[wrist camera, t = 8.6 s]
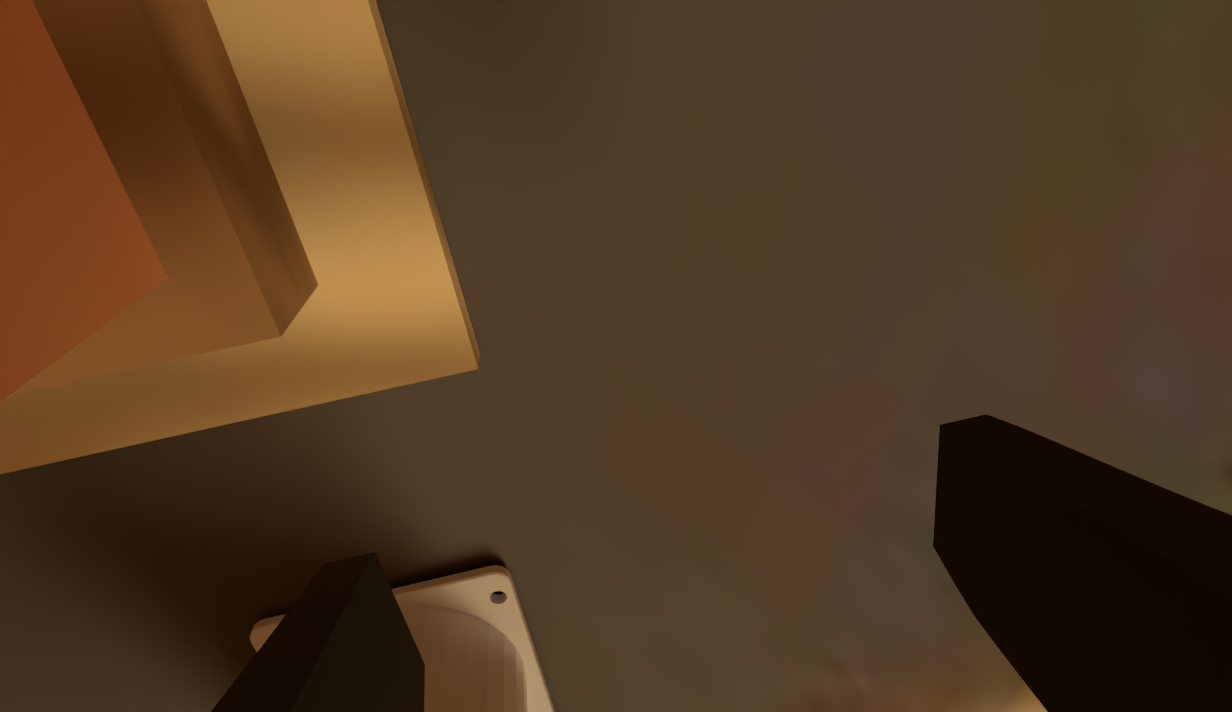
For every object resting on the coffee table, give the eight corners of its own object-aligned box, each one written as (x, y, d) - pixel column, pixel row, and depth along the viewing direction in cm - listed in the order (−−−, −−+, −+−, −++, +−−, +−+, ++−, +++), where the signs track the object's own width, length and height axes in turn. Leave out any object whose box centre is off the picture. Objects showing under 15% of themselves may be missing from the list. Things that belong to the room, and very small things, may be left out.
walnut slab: (318, 285, 16) (280, 337, 14) (-32, 359, 16) (-142, 427, 13) (158, -121, 13) (65, -160, 10) (-299, -39, 12) (-525, -56, 10)
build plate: (479, 352, 19) (478, 368, 18) (-55, 469, 18) (-85, 492, 17) (275, -341, 12) (256, -369, 11) (-559, -202, 12) (-647, -221, 11)
